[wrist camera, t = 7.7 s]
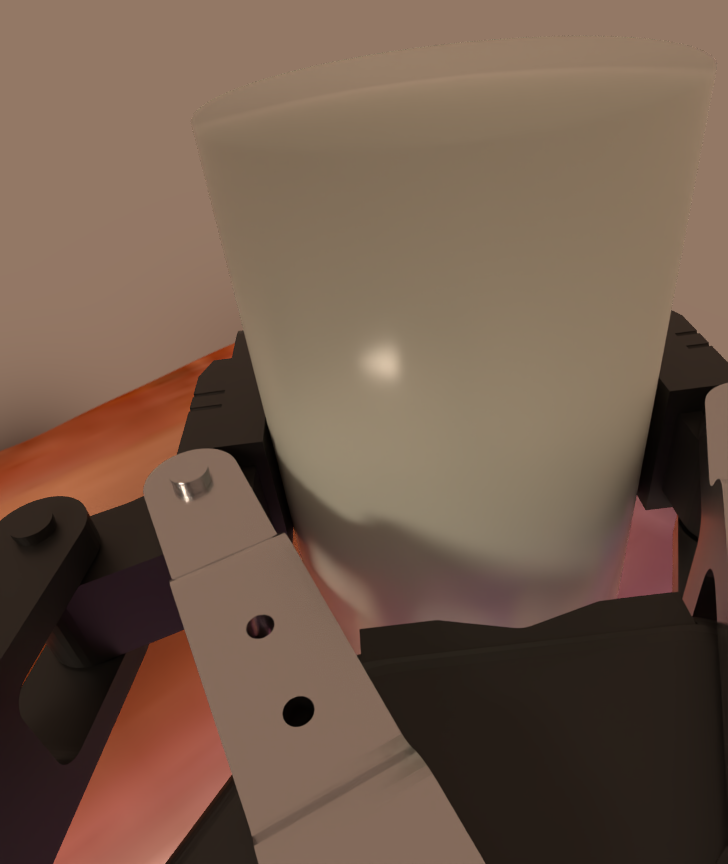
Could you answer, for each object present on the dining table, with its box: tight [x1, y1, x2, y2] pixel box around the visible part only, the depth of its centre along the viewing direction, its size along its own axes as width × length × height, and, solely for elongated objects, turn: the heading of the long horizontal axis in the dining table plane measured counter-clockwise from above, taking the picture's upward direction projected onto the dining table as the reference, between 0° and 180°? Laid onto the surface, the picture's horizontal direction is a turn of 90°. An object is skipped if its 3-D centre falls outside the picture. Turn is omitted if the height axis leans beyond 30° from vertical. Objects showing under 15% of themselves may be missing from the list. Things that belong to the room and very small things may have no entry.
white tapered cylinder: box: [191, 36, 717, 655], centre depth 11 cm, size 6×6×12 cm
